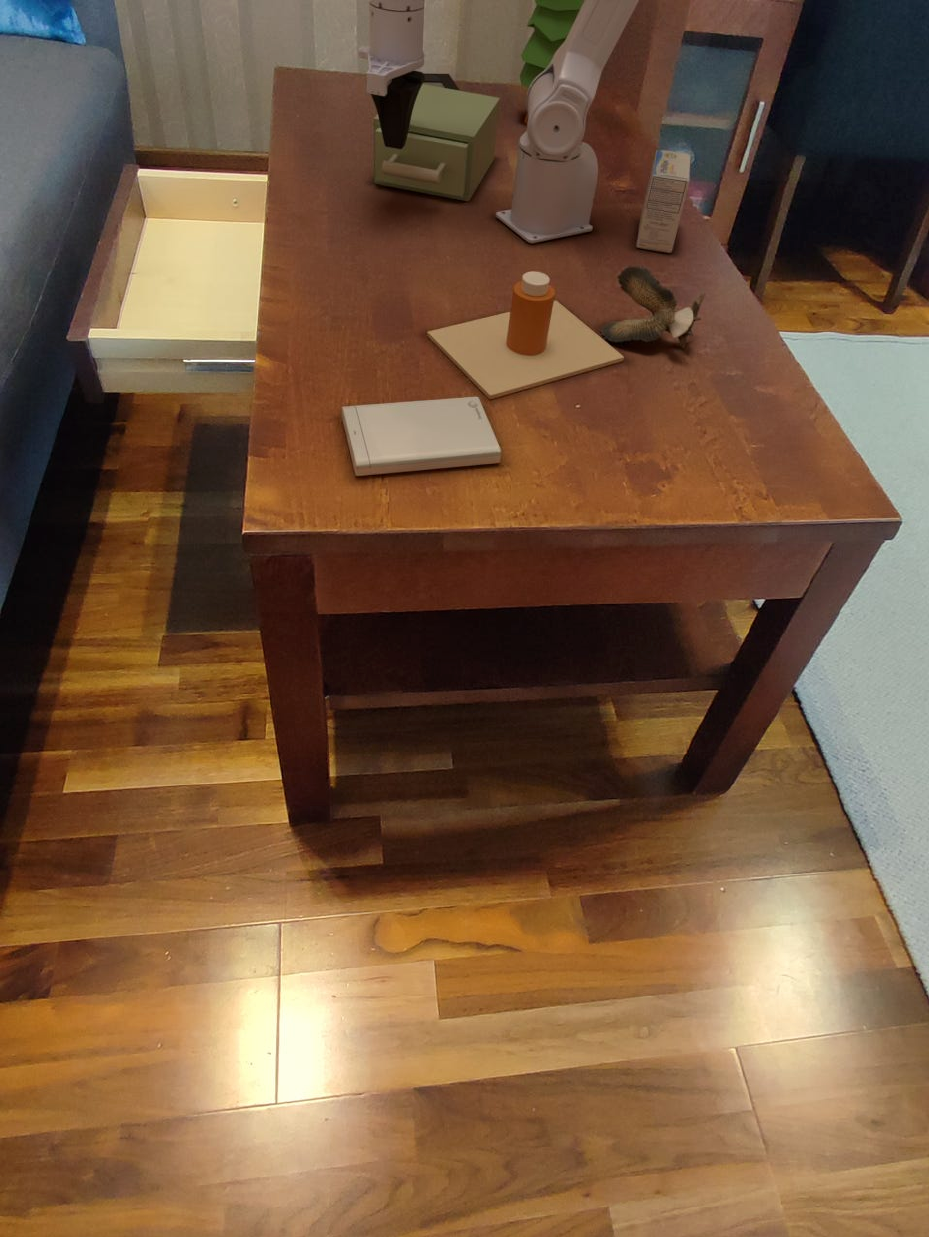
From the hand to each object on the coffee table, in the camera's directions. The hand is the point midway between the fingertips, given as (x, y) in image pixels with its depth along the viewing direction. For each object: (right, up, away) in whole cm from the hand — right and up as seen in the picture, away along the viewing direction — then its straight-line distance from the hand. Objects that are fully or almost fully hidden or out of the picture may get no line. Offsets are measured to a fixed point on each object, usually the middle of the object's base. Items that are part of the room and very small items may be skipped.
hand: (394, 145), depth 96 cm
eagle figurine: (+27, -25, -9) cm, 38 cm away
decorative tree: (+20, +21, +30) cm, 42 cm away
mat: (+14, -27, -12) cm, 33 cm away
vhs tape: (+4, +24, +31) cm, 39 cm away
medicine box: (+32, -8, +7) cm, 33 cm away
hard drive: (+4, -39, -23) cm, 46 cm away
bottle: (+14, -27, -13) cm, 33 cm away
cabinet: (+4, +5, +14) cm, 16 cm away
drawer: (+3, +3, +11) cm, 12 cm away
